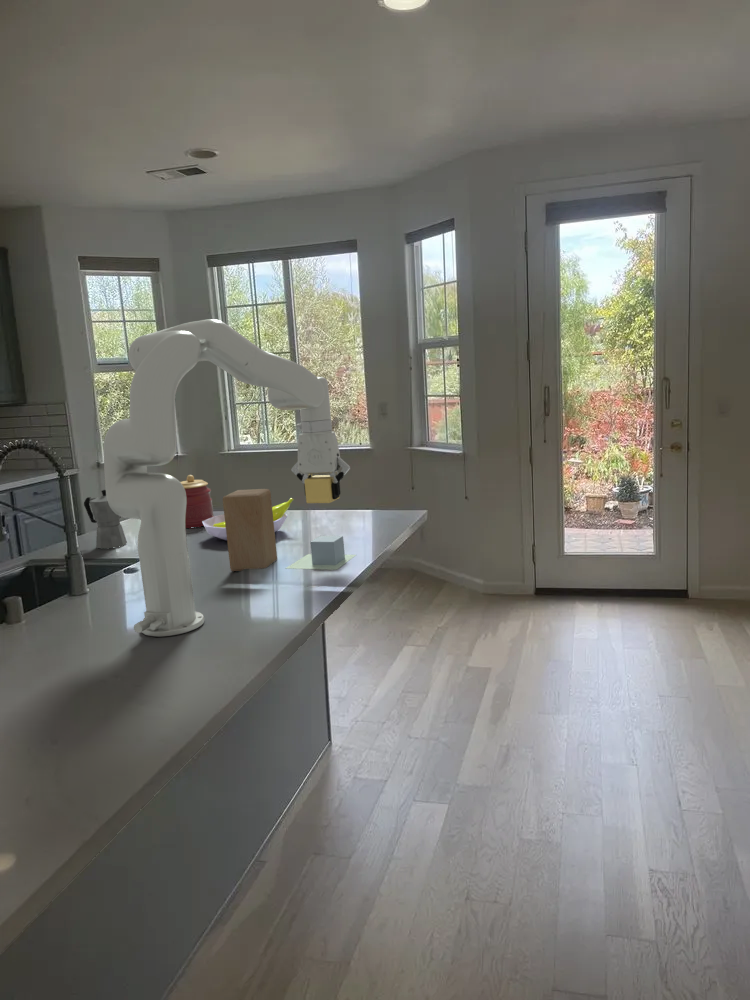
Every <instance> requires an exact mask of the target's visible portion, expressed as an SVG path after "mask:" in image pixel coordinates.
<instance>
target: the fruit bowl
mask: <svg viewBox="0 0 750 1000" xmlns="http://www.w3.org/2000/svg"><path fill="white" fill-rule="evenodd" d="M294 500H295V499H294V498H292V497H290V498H289V500H288V501H285V502H282V503H279V504H277V505H274V506H272V512H273V522H274V532H277V531H279V530H281V528H282V526H283V524H285V522H286V520H287V518H288V514H287V513H286V512H287V510H288V509H290V507H291V504H292V503H293V501H294ZM202 523H203V525H204V528H205V530H206V533H207V534H208V535H209V536H212V537H215V538H217V539H221V540H224V541H227V534H226V526H225V517H224V513H223V514H219V515H214V517H212V518H209V519H207V520H204V521H202Z"/></svg>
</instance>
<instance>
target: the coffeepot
mask: <svg viewBox="0 0 750 1000" xmlns="http://www.w3.org/2000/svg"><path fill="white" fill-rule="evenodd" d="M100 492H101V496H99V497H91V496H89V497H88V496H87V497H86V498H85V499H84V501H83V506H84V508H85V510H86V513H87V515H88V518H89V520H90V523H93V524H96V523H97V527H96V536H95V537H96V543H95V548H97V547H98V548H113V547H118V548H120V547H119V546H122V547H124V546H126V545H127V543H128V541H127V538H126V535H125V531H124V528H123V526H122V524H121V518H122V517H121V516H119V515H117V514H116V513H115V512H113V510H112V509H111V508H110V506H109V504H108V501H107V496H106V489H102V490H100ZM125 544H126V545H125ZM123 545H124V546H123ZM98 548H97V549H98ZM113 549H114V548H113Z"/></svg>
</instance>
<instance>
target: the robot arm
mask: <svg viewBox="0 0 750 1000" xmlns="http://www.w3.org/2000/svg"><path fill="white" fill-rule="evenodd" d="M127 353H128V361H129V363H130V366H131V368H132V369H133V370H134V371H135V372H134V375H133V377H132V380H131V383H130V388H129V418H124V419H119V420H117V421H115V422H114V423H113V424H112V425H110V427H109V428H108V429H107V432H106V434H105V437H104V441H103V467H104V469H103V470H104V483H105V484H104V485H105V486H104V487H105V490H106V496H107V501H108V504H109V506H110V508H111V509H112V510H113V512H115V513H116V514H117V515H119V516H121V518H124V519H132V520H140V526H139V530H138V534H137V551H138V560H139V565H140V573H141V581H142V582H141V583H142V589H143V595H144V602H145V609H146V611H144V612H143V615H144V616H143V617H144V618H142V620H140V621H139V622H137V623H136V624H134V626H133V630H134V632H136V633H137V634H140V633H141V634H143V635H145V636H148V637H171V636H176V635H181V634H185V633H189V632H191V631H194V630H196V629H198V628H199V627H202V625H203V624H204V623H205V617H204V614H203V613H201V612H199V611H196V605H195V596H194V589H193V581H192V573H191V565H190V563H191V562H190V557H189V547H188V539H187V530H186V527H185V518H186V505H187V497H186V492H185V489H184V487H183V485H182V484H181V482H182V481H180V480H179V479H178V478H176V477H174V476H173V475H170V474H167V473H163V472H148V467H158V466H164V465H167V464H169V463H170V462H172V460H174V458H175V455H176V453H177V431H176V429H177V427H176V425H177V424H176V394H177V388H178V386H179V385H180V382H181V381H182V379H183V378H184V377H185V376H186V375H187V374H188V373H189V371H191V370H192V369H193V368H195V366H196V365H197V363H198V362H205V361H207V362H210V363H212V364H213V365H215V366H216V367H219V368H220V369H221V370H223V371H224V372H226V373H227V374H229V375H230V376H232V377H234V378H235V379H236V380H238V381H239V382H241V383H244V384H247V385H250V386H256V387H262V388H268V389H267V399H268V402H269V403H270V405H271V406H273V408H275V409H277V410H281V411H297V410H299V414H300V415H299V416H300V423H297V424H296V429H297V430H300V432H301V433H299V434H298V439H297V461H296V463H295V464H294V465H293V466H292V467H291V469H290V470H291V472H292V473H293V474H294V475H295V476H296V477H297V478H298V479H299V480H300V481H301V483H302V484H303V488H304V490H305V481H304V480H305V479H307V478H310V477H312V476H313V474H314V475H319V474H320V475H322V474H323V475H324V474H328V475H330V477H331V479H332V481H333V483H332V484H331V488H332V498H333V499H337V498H339V495H341V484H340V482H342V480H343V478H344V477H345V475H346V474H347V473H348V472H349V471H350V470H351V466H350V465H349V464H348V463H347V462H346V461H344V459H343V458H341V453H340V448H339V443H338V438H337V435H336V433H335V431H333V427H332V425H333V423H332V415H331V402H330V391H329V382H328V380H327V378H325V376H324V377H323V376H316V375H315V374H314V373H313V372H311V371H310V370H309V369H307V368H305V367H304V366H303V365H302V364H299V363H298V362H295V361H293V360H290V359H288V358H285V357H282V356H279V355H277V354H276V353H272V352H269V351H266V350H264V349H261V348H260V347H258V346H257V345H256V344H254V343H253V342H251V340H249V339H247V337H245V336H243V335H242V334H241V333H239V332H238V331H237V330H236V329H234V328H232V327H231V326H230V325H228V324H227V323H225V322H224V321H222V320H219V319H214V318H213V319H212V318H211V319H210V318H209V319H201V320H195V321H189V322H185V323H181V324H178V325H174V326H171V327H168V328H164V329H162V330H157V331H154V332H150V333H147V334H143V335H140V336H138V337H137V338H135V339H134V340H133V341H132V342H131V344H130V346H129V348H128V352H127ZM338 470H340V472H339V471H338ZM304 496H305V497H306V492H305V491H304ZM339 499H340V498H339ZM337 500H338V499H337Z"/></svg>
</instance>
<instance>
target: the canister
mask: <svg viewBox="0 0 750 1000" xmlns="http://www.w3.org/2000/svg"><path fill="white" fill-rule="evenodd" d="M180 482H181V484H182V485H183V487H184V489H185V492H186V497H187V505H186V518H185V527H186V528H189V529H192V528H191V527H199V528H202V527H201V526H204V525H203V523H202V521H204V520H207V519H209V518H212V517H214V516H215V515H214V506H213V498H212V497H211V492H212V489H211V488H210V487H208V484H209V483H208V482H207V481H204V479H195V477H194V475H192V474H188V475H187V477H186V480H183V481H180Z"/></svg>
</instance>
